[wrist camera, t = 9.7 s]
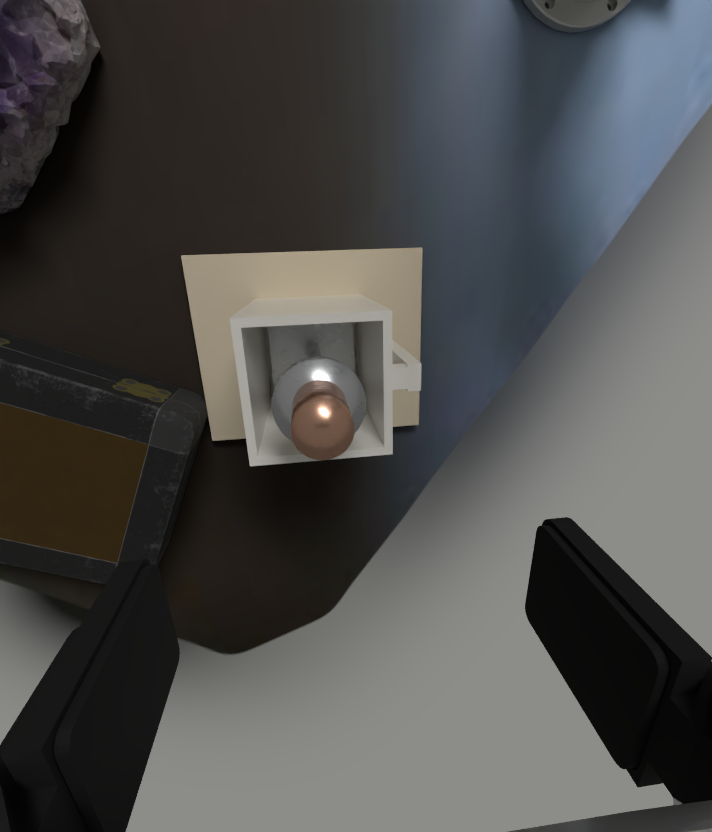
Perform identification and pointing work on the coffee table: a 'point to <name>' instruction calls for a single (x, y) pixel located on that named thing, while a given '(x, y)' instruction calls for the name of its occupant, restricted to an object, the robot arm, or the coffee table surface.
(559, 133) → the coffee table surface
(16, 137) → the geode
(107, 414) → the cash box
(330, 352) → the plunger
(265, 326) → the square white mug
